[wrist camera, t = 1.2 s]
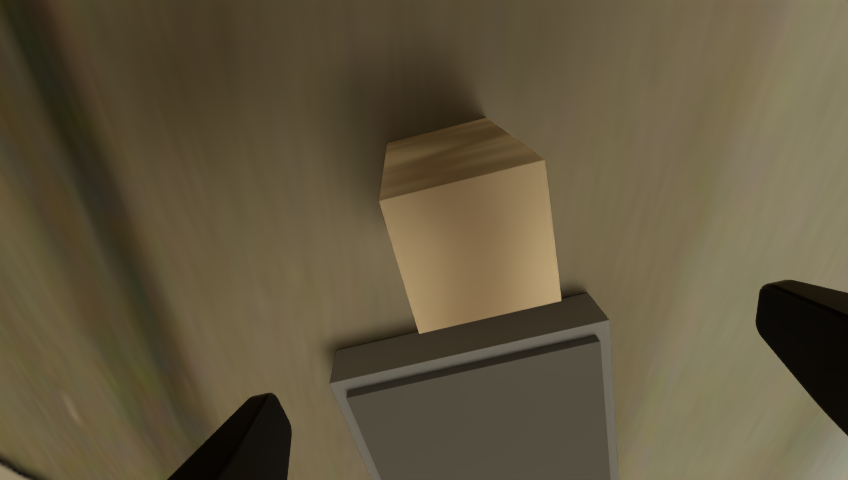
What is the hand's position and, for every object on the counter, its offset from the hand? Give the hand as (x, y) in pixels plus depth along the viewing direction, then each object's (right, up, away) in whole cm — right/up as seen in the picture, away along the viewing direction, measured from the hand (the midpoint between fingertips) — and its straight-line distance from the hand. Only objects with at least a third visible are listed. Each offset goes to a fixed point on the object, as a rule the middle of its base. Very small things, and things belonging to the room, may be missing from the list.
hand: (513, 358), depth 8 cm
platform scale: (+2, -9, +18) cm, 20 cm away
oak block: (-1, +5, +11) cm, 13 cm away
